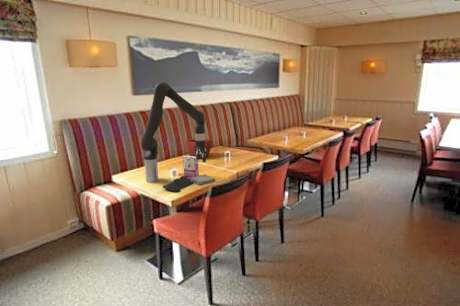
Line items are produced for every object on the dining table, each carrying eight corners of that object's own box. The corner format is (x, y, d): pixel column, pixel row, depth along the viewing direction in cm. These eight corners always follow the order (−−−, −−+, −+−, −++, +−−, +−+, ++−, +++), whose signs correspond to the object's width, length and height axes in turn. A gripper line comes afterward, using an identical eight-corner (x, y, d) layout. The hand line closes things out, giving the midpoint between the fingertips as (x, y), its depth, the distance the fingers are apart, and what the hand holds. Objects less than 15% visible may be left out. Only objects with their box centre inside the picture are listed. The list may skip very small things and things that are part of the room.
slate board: (189, 180, 222) (189, 177, 222) (205, 176, 230) (205, 174, 230) (198, 185, 211) (198, 182, 211) (214, 181, 219) (214, 178, 219)
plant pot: (199, 154, 306) (198, 138, 302) (213, 156, 294) (212, 140, 290) (185, 157, 291) (184, 141, 287) (199, 160, 279) (198, 143, 276)
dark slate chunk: (159, 189, 206) (158, 183, 205) (179, 180, 225) (178, 174, 224) (176, 192, 199) (175, 186, 198) (195, 183, 217) (195, 177, 216)
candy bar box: (199, 176, 231) (198, 156, 227) (195, 178, 226) (194, 158, 223) (187, 175, 236) (186, 155, 232) (183, 176, 232) (182, 156, 228)
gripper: (209, 140, 210) (210, 162, 214) (199, 137, 221) (200, 158, 225) (200, 141, 206) (201, 163, 209) (190, 138, 217) (191, 159, 221)
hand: (201, 160), depth 217 cm, fingers open, 8 cm apart
